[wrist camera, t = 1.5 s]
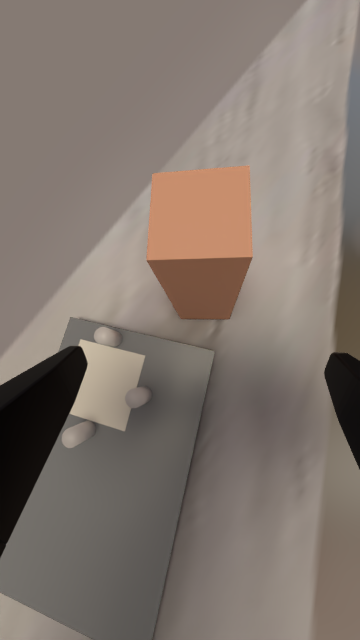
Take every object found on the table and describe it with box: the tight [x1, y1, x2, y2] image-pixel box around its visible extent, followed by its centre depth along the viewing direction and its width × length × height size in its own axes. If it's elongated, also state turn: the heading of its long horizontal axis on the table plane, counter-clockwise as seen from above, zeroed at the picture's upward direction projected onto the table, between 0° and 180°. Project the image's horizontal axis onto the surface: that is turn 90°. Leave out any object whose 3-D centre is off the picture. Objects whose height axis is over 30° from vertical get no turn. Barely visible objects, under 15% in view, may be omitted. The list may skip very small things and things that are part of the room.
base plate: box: [0, 317, 215, 640], centre depth 18 cm, size 22×14×4 cm, turn 166°
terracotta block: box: [147, 166, 253, 319], centre depth 16 cm, size 4×4×12 cm
